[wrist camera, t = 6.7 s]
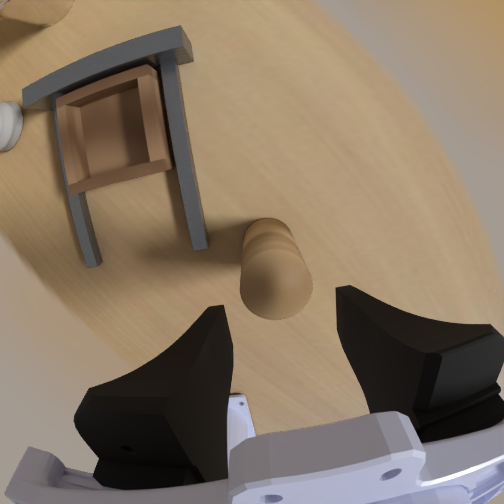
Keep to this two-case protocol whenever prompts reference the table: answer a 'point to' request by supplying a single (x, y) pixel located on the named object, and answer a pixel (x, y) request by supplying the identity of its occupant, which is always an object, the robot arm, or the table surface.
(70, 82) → the rail
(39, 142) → the table surface
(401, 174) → the table surface
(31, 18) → the cup with straw
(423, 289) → the table surface
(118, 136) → the walnut socket block
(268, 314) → the oak dowel
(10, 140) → the rook chess piece
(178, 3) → the table surface
